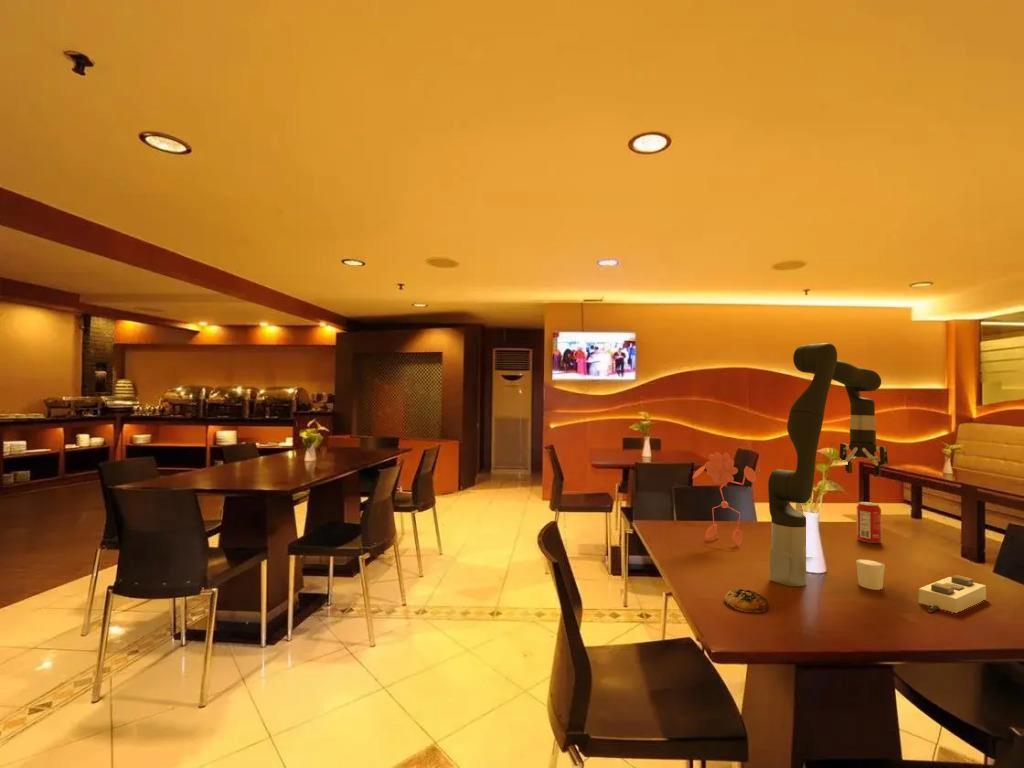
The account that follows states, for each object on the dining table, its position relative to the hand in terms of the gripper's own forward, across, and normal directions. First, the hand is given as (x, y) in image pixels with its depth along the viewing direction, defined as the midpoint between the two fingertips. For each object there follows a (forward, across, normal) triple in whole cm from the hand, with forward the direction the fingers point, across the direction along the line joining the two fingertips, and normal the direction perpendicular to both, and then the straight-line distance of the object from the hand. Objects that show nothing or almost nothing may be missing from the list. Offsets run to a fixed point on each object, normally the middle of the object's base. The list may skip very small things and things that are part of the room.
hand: (863, 474), depth 176 cm
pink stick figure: (+30, -36, -29) cm, 55 cm away
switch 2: (+26, +31, -14) cm, 43 cm away
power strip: (+29, +31, -22) cm, 48 cm away
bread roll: (+30, +5, -73) cm, 79 cm away
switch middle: (+27, +31, -20) cm, 46 cm away
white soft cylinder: (+30, +14, -27) cm, 42 cm away
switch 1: (+26, +31, -27) cm, 49 cm away
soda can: (+30, -11, +28) cm, 42 cm away
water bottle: (+30, -20, 0) cm, 36 cm away
